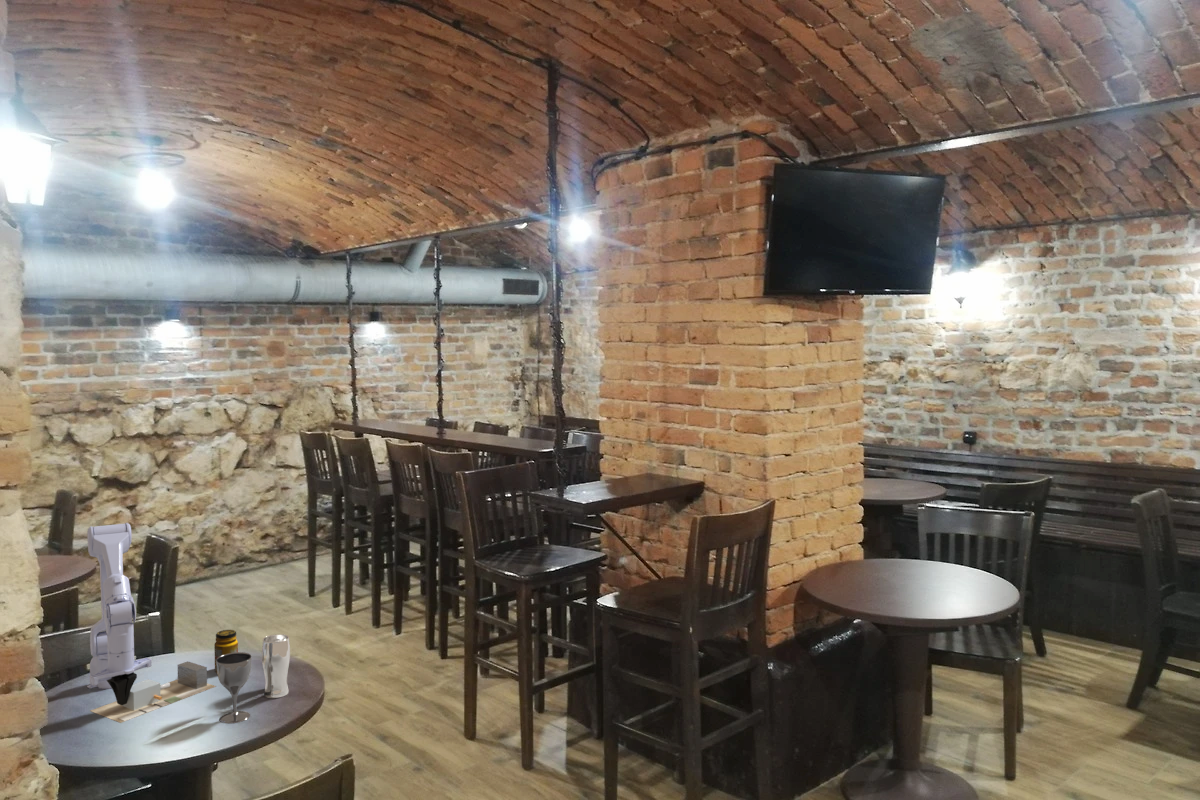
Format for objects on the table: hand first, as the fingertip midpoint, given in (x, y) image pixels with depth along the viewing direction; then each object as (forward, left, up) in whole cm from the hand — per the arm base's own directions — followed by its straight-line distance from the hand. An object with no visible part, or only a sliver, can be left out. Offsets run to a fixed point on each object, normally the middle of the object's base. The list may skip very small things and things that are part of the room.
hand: (122, 703), depth 215 cm
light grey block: (+1, +7, -2) cm, 7 cm away
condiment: (-1, +30, -3) cm, 30 cm away
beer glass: (+22, +29, -3) cm, 36 cm away
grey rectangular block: (0, +19, -2) cm, 19 cm away
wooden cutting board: (0, +9, -3) cm, 9 cm away
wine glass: (+25, +14, -3) cm, 28 cm away
